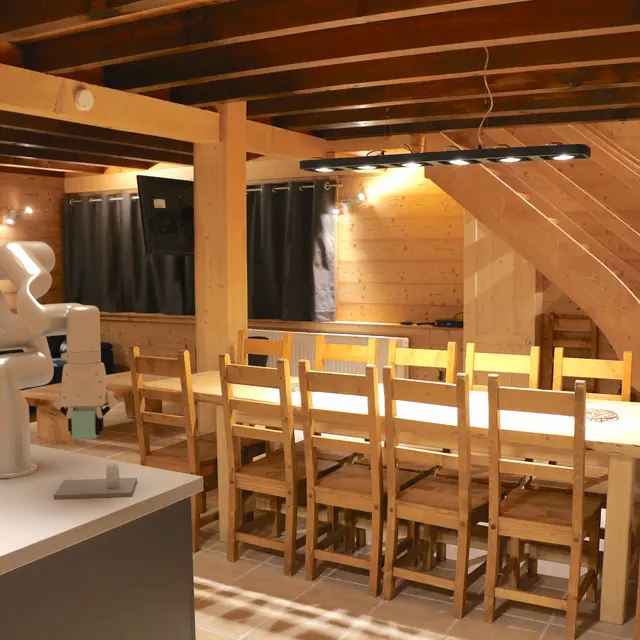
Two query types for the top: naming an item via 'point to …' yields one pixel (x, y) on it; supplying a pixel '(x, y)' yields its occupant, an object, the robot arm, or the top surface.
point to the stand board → (94, 488)
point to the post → (112, 475)
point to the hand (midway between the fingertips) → (86, 433)
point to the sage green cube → (84, 423)
